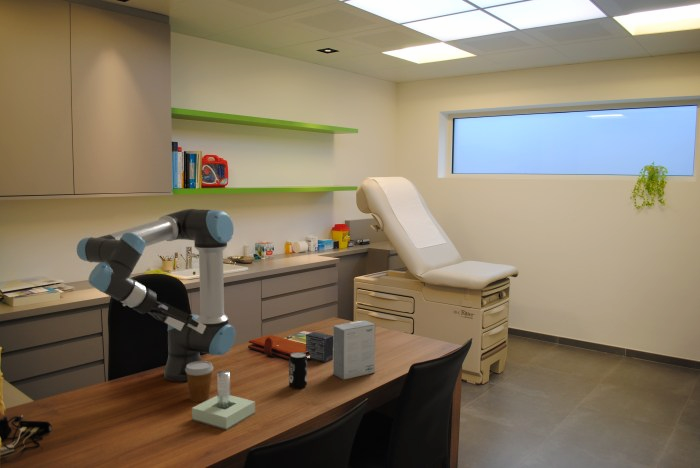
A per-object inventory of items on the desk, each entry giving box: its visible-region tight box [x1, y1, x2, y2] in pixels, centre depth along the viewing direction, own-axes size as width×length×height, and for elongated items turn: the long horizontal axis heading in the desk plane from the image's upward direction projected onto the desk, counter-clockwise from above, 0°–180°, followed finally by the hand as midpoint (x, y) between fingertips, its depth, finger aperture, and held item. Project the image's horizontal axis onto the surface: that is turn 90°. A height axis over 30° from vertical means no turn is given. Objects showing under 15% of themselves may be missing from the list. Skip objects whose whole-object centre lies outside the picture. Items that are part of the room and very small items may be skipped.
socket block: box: [191, 394, 256, 431], centre depth 177 cm, size 14×14×4 cm
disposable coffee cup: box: [185, 360, 214, 403], centre depth 191 cm, size 10×10×12 cm
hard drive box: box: [332, 319, 376, 381], centre depth 217 cm, size 16×8×20 cm, turn 123°
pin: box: [216, 370, 231, 410], centre depth 177 cm, size 4×4×14 cm
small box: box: [305, 331, 333, 363], centre depth 235 cm, size 11×6×10 cm, turn 58°
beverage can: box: [288, 351, 308, 390], centre depth 204 cm, size 7×7×12 cm
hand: (192, 328), depth 180 cm, fingers open, 13 cm apart
